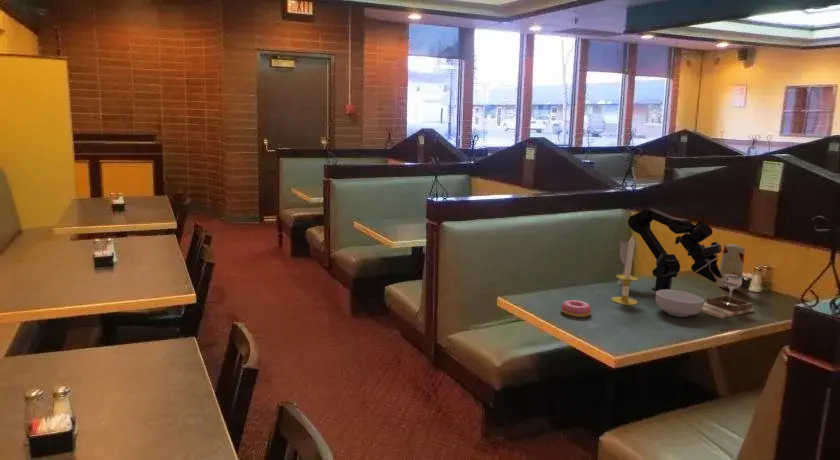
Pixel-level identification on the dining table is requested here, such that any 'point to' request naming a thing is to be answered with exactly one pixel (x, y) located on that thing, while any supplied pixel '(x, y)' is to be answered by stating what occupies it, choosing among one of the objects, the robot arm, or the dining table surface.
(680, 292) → the cereal bowl
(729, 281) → the wineglass
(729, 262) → the food model
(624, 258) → the chalice
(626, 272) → the candle
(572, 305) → the doughnut
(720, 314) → the brown wooden tray
